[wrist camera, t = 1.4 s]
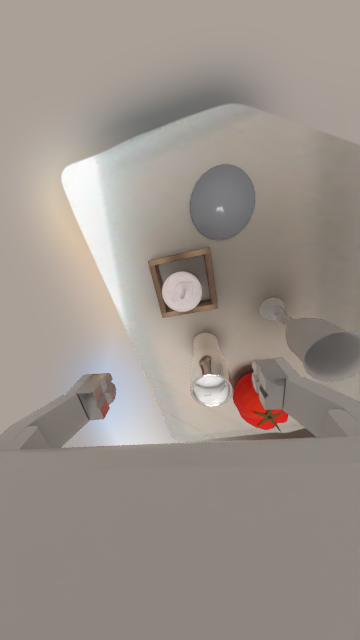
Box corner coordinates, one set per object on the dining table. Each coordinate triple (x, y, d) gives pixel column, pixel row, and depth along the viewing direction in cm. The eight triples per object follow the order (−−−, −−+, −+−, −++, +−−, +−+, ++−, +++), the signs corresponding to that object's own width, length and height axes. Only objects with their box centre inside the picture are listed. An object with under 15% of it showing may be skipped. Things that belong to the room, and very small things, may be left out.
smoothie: (206, 283, 35) (213, 301, 22) (184, 303, 37) (179, 331, 24) (185, 260, 34) (179, 264, 21) (163, 282, 36) (145, 299, 23)
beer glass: (225, 335, 39) (242, 381, 25) (213, 359, 42) (222, 412, 28) (196, 326, 39) (198, 367, 25) (187, 350, 41) (183, 400, 28)
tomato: (265, 403, 46) (285, 447, 35) (223, 394, 46) (232, 435, 35) (284, 367, 41) (314, 406, 31) (237, 357, 41) (252, 393, 31)
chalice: (252, 324, 38) (299, 382, 21) (254, 294, 35) (308, 333, 18) (287, 322, 37) (365, 380, 20) (291, 291, 34) (383, 328, 18)
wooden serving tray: (208, 247, 32) (209, 246, 30) (216, 304, 36) (218, 308, 34) (151, 260, 34) (147, 261, 31) (165, 313, 38) (162, 317, 35)
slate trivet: (251, 157, 27) (253, 155, 26) (255, 232, 31) (256, 231, 30) (184, 177, 29) (184, 175, 28) (196, 245, 33) (196, 245, 32)
